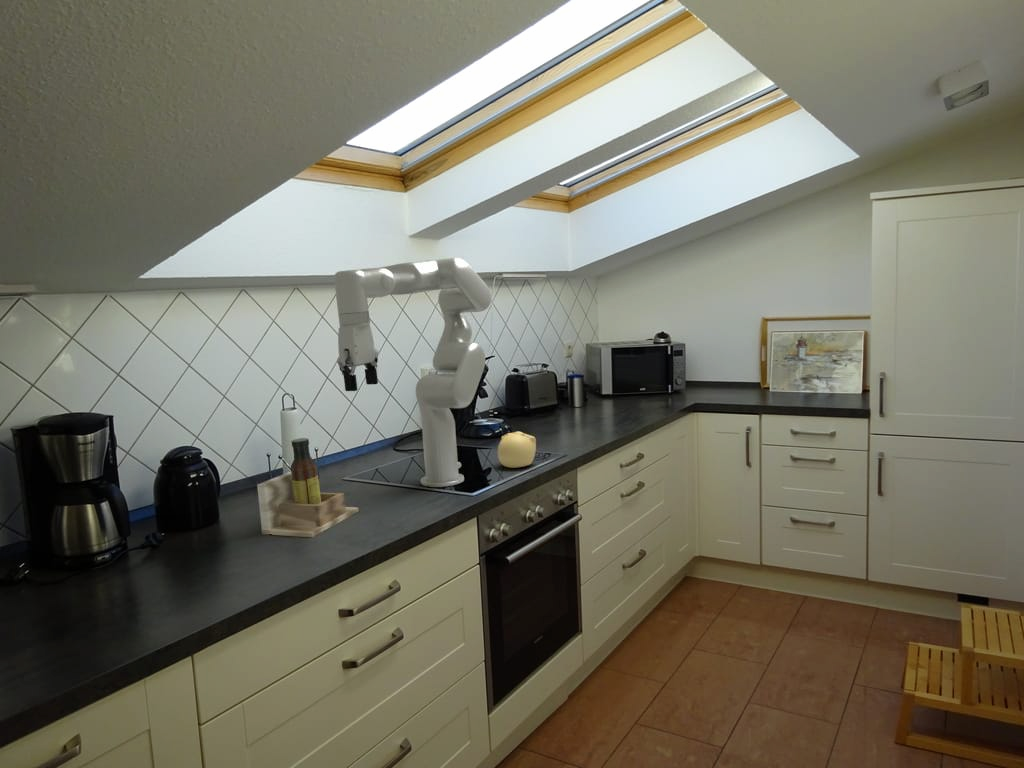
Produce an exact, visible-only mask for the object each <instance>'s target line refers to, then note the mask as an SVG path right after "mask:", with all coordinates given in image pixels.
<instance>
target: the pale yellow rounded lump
mask: <svg viewBox="0 0 1024 768" xmlns="http://www.w3.org/2000/svg"><path fill="white" fill-rule="evenodd" d="M500 438H501V439H500V442H499V444H498V445H497V457H498V460H499V463H500V464H501V465H502V466H504V467H505V468H511V469H514V468H516V469H517V468H523V467H526V466H531V464H532V463H533V461H534V458H535V455H536V451H537V439H536V437H535V436H533V435H530V434H527V433H524V432H522V431H518V430H517V431H513V432H508V433H506V434H504V435H502V436H501V437H500Z"/></svg>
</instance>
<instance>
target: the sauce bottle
mask: <svg viewBox="0 0 1024 768" xmlns="http://www.w3.org/2000/svg"><path fill="white" fill-rule="evenodd" d="M290 442H291V448H292V449H293V450H292V451H293V461H292V463H291V465H290V471H291V474H292V485H293V492H294V500H295V503H296V504H319V503H321V496H320V492H321V490H320V489H321V488H320V482H319V475H318V470H317V464H316V462H315V461H314V459H313V458H312V456H311V453H310V447H309V445H310V441H309V438H308V437H301V438H300V437H299V438H295V439H292V440H291V441H290Z"/></svg>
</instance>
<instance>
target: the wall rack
mask: <svg viewBox="0 0 1024 768" xmlns="http://www.w3.org/2000/svg"><path fill="white" fill-rule="evenodd" d="M256 488H257V496H258V498H257V499H258V505H259V507H258V508H259V516H260V524H261V533H262V534H261V535H269V534H272V535H271V536H273V535H274V536H285V537H286V536H289V537H302V538H303V537H304V538H314V537H316V536H317V535H319V534H321V533H322V532H324V530H325V531H326V530H328V529H330V528H332V527H334V526H335V525H337V524H338V523H340V522H342V521H344V520H346V519H347V518H349V517H351V516H353V515H354V514H356V513H358V512H359V507H355V506H346V502H345V492H344V493H343V492H321V491H320V496H321V503H319V504H296V503H295V500H294V492H293V485H292V474H291V470H290V471H288V472H286V473H283V474H281V475H278V476H275V477H274V478H271V479H268V480H265V481H263V482H260V483H258V484H257V487H256ZM331 526H332V527H331Z"/></svg>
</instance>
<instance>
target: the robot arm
mask: <svg viewBox="0 0 1024 768" xmlns="http://www.w3.org/2000/svg"><path fill="white" fill-rule="evenodd" d="M333 281H334V289H335V298H336V305H337V306H336V307H337V314H338V323H339V327H338V333H337V334H338V335H337V341H338V342H337V343H338V344H337V345H338V347H337V348H338V358H337V359H336V362H337V364H338V366H339V370H340V372H341V375H342V376H343V382H344V390H345V392H356V391H358V381H357V374H355V372H356V368H357V367H360V366H364V367H365V369H364V375H365V383H366V385H377V384H379V380H378V361H379V360H378V357H379V350H378V349H377V348H376V347H375V343H374V337H373V332H372V328H371V319H370V312H369V311H370V310H369V301H368V300H369V299H375V298H383V297H386V296H390V295H391V296H392V295H394V296H396V295H397V296H398V295H401V296H402V295H414V294H418V293H424V292H433V291H437V290H438V291H439V290H440V291H439V293H438V297H437V298H438V304H439V308H440V311H441V314H442V317H443V321H444V327H443V331H442V333H441V337H440V339H439V340H438V341H439V342H438V344H437V346H436V349H435V352H434V354H433V357H432V367H433V369H434V370H435V371H436V372H437V373H431V374H430V373H429V374H426V375H424V376H422V377H421V378H419V379H418V380H417V383H416V385H415V396H416V401H417V404H418V408H419V412H420V418H421V421H420V422H421V430H422V431H421V433H422V444H423V457H424V468H425V470H424V471H425V476H423V477H422V478H421V479H420V484H421V485H422V486H423V487H428V486H429V487H430V488H443V487H450V486H456V485H459V484H461V483H463V482H464V481H465V477H464V474H462V473H459V469H460V468H461V467H462V463H461V462H460V461H458V448H457V435H456V433H457V432H456V421H455V418H454V415H453V413H452V411H451V409H464V408H467V407H468V406H469V405H470V404H471V403H472V401H473V400H474V398H475V395H476V392H477V390H478V387H479V383H480V381H481V378H482V375H483V374H484V369H485V366H486V354H485V350H484V348H483V347H482V346H481V345H480V344H479V343H477V342H474V341H471V339H472V336H473V329H472V326H471V323H470V322H469V319H468V318H467V315H466V313H480V312H484V311H486V310H488V308H489V307H490V305H491V302H492V295H491V290H490V288H489V287H488V285H487V284H486V282H485V281H484V280H483V279H482V278H481V277H480V275H479V274H478V273H477V272H476V271H475V269H474V268H472V266H471V265H470V264H469V263H467V262H466V261H465V260H464V259H462V258H459V257H451V258H441V259H430V260H422V261H420V260H419V261H412V262H411V261H410V262H403V263H402V262H401V263H396V264H392V265H388V266H387V265H386V266H380V267H373V268H372V267H370V268H360V269H350V270H349V269H348V270H346V269H345V270H339V271H336V273H334V277H333ZM429 487H428V488H429Z"/></svg>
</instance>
